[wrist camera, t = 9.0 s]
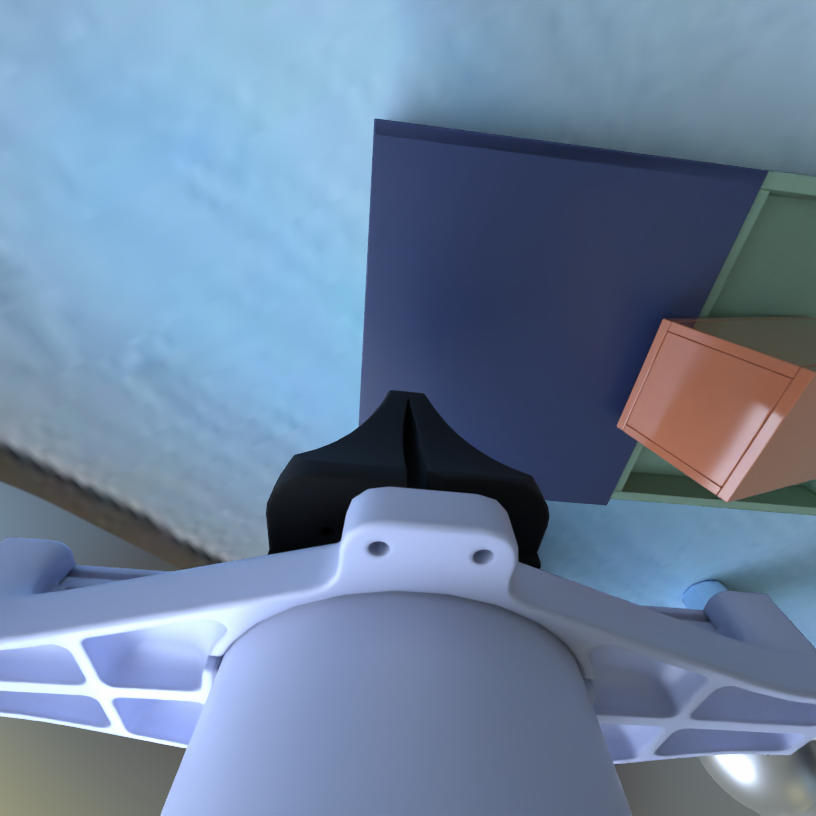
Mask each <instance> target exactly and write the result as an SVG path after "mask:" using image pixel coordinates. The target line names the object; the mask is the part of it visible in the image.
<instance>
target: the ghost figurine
mask: <svg viewBox="0 0 816 816" xmlns="http://www.w3.org/2000/svg"><path fill="white" fill-rule="evenodd" d="M698 757H699V759H700V761H701V762H702V764H703V766H704V767H705V769H706V770H707V771H708V773H709V774H710V775H711V777H712V778H713V779H714V780H715V781H716V782H717V783H718V784H719V785H720V786H721V787H722V788H723V789H724V790H725V791H726V792H727V793H728V794H729V795H731V796H732V797H733V798H735V799H736V800H737V801H739V802H740V803H742V804H744V805H745V806H747V807H749V808H750V809H753V810H754V811H756V812H757V813H759V814H760V815H761V816H816V740H811V741H809V742H808V743H806V744H805V745H804V746H802V747H801V748H800V749H798V750H797V751H795V752H794V753H793V754H791V755H768V756H767V755H765V754H736V755H710V756H698Z"/></svg>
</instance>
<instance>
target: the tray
mask: <svg viewBox="0 0 816 816" xmlns="http://www.w3.org/2000/svg"><path fill="white" fill-rule="evenodd" d="M768 171H769V172H768V174H767V176H766V178H765V180H764V182H763V184H762V186H761V188H760V190H759V193H758V195H757V197H756V199H755V201H754V203H753V205H752V207H751V209H750V211H749V213H748V215H747V217H746V219H745V221H744V223H743V226H742V228H741V230H740V232H739V234H738V236H737V238H736V240H735V242H734V244H733V246H732V248H731V250H730V252H729V254H728V256H727V259H726V261H725V263H724V265H723V267H722V269H721V271H720V273H719V275H718V277H717V279H716V281H715V283H714V285H713V287H712V289H711V292H710V294H709V296H708V298H707V300H706V302H705V304H704V306H703V308H702V310H701V312H700V314H699V316H698V318H723V317H789V316H809V317H813V318H816V176H809V175H802V174H794V173H787V172H779V171H771V170H768ZM610 499H621V500H633V501H645V502H657V503H670V504H682V505H694V506H706V507H718V508H730V509H742V510H755V511H767V512H779V513H791V514H803V515H815V516H816V479H814V480H810V481H807V482H803V483H799V484H795V485H792V486H788V487H784V488H780V489H777V490H773V491H769V492H765V493H762V494H758V495H754V496H750V497H747V498H743V499H739V500H735V501H732V502H728V503H727V502H725V501H724V500H722V499H721V498H719V497H718V496H717V495H715V494H713V493H712V492H711V491H709V490H708V489H706V488H705V487H703V486H702V485H700V484H699V483H698V482H696V481H695V480H693V479H692V478H690V477H689V476H687V475H686V474H684V473H683V472H682V471H680V470H679V469H677V468H676V467H674V466H673V465H671V464H670V463H669V462H667V461H666V460H664V459H663V458H661V457H660V456H658V455H657V454H656V453H654V452H653V451H651V450H650V449H648V448H647V447H645V446H644V445H642V444H641V443H640V442H637V444H636V446H635V448H634V450H633V452H632V454H631V456H630V459H629V461H628V463H627V465H626V467H625V469H624V471H623V473H622V475H621V477H620V479H619V481H618V483H617V485H616V487H615V489H614V492H613V494H612V496H611V498H610Z"/></svg>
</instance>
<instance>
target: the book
mask: <svg viewBox="0 0 816 816" xmlns="http://www.w3.org/2000/svg"><path fill="white" fill-rule="evenodd" d="M768 172H769V171H768V170H761V169H753V168H745V167H738V166H730V165H723V164H715V163H708V162H700V161H692V160H685V159H677V158H670V157H662V156H655V155H647V154H639V153H632V152H624V151H617V150H609V149H602V148H594V147H586V146H579V145H571V144H564V143H556V142H549V141H541V140H533V139H526V138H518V137H511V136H503V135H496V134H488V133H481V132H473V131H465V130H458V129H450V128H443V127H435V126H428V125H420V124H412V123H405V122H397V121H390V120H382V119H375V120H374V137H373V156H372V176H371V195H370V215H369V234H368V253H367V273H366V292H365V312H364V331H363V351H362V370H361V389H360V409H359V426H360V425H362V424H363V423H364V422H365V421H366V420H367V419H368V418H369V417H370V416H371V415H372V414H373V413H374V412H375V410H376V409H377V408H378V407H379V406H380V404H381V403H382V402H383V400H384V399H385V397H386V395H387V393H388V392H389V391H390V390H397V391H407V392H417V393H424V394H425V395H426V396H427V398H428V399H429V401H430V402H431V404H432V405H433V407H434V408H435V409H436V411H437V412H438V413H439V415H440V416H441V417H442V418H443V419H444V421H445V422H446V423H447V424H448V425H449V426H450V427H451V428H452V429H453V430H454V431H455V432H456V433H457V434H458V435H459V436H461V437H462V438H463V439H464V440H465V441H467V442H468V443H469V444H470V445H472V446H473V447H475V448H476V449H478V450H479V451H481V452H482V453H484V454H485V455H487V456H489V457H491V458H492V459H494V460H496V461H498V462H500V463H502V464H504V465H506V466H508V467H511V468H513V469H516V470H518V471H521V472H524V473H526V474H529V475H531V476H533V478H534V480H535V481H536V483H537V485H538V487H539V488H540V490H541V493H542V495H543V497H544V499H545V500H547V501H560V502H572V503H584V504H597V505H607V504H608V502H609V500H610V498H611V496H612V494H613V492H614V489H615V487H616V485H617V483H618V481H619V479H620V477H621V475H622V473H623V471H624V469H625V467H626V465H627V463H628V461H629V459H630V456H631V454H632V452H633V450H634V448H635V446H636V444H637V442H638V441H637V440H635V439H634V438H632V437H631V436H629V435H628V434H627V433H625V432H624V431H622V430H621V429H619V428H618V427H617V424H618V421H619V419H620V417H621V415H622V412H623V410H624V408H625V405H626V403H627V401H628V398H629V396H630V394H631V391H632V389H633V387H634V385H635V382H636V380H637V378H638V375H639V373H640V371H641V368H642V366H643V364H644V361H645V359H646V357H647V354H648V352H649V350H650V348H651V345H652V343H653V341H654V338H655V336H656V334H657V331H658V329H659V327H660V324H661V322H662V320H663V319H664V318H698V316H699V314H700V312H701V310H702V308H703V306H704V304H705V302H706V300H707V298H708V296H709V294H710V292H711V289H712V287H713V285H714V283H715V281H716V279H717V277H718V275H719V273H720V271H721V269H722V267H723V265H724V263H725V261H726V259H727V256H728V254H729V252H730V250H731V248H732V246H733V244H734V242H735V240H736V238H737V236H738V234H739V232H740V230H741V228H742V226H743V223H744V221H745V219H746V217H747V215H748V213H749V211H750V209H751V207H752V205H753V203H754V201H755V199H756V197H757V195H758V193H759V190H760V188H761V186H762V184H763V182H764V180H765V178H766V176H767V174H768Z"/></svg>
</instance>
